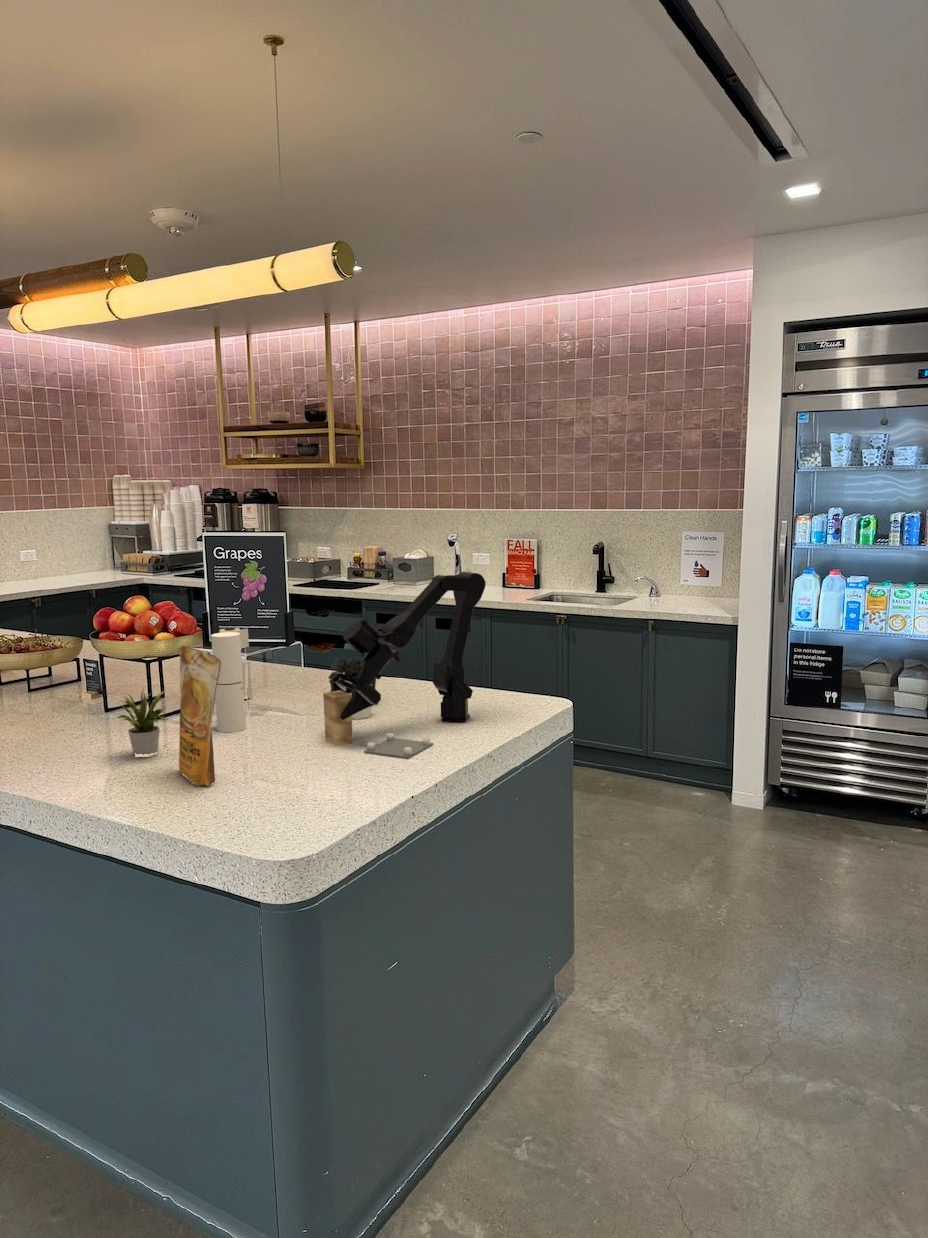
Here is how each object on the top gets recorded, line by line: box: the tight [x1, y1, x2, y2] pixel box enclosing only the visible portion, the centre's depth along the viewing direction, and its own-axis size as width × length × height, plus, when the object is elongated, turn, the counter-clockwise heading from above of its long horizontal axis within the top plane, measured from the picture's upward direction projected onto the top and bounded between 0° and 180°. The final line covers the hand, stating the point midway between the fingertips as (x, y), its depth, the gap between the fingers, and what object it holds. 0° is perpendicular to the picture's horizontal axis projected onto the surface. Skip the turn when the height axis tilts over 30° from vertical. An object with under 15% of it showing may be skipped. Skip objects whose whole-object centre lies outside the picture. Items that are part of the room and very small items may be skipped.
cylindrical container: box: [210, 632, 247, 734], centre depth 233 cm, size 7×7×25 cm
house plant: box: [112, 687, 167, 755], centre depth 212 cm, size 14×14×16 cm
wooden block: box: [322, 690, 354, 747], centre depth 221 cm, size 4×6×12 cm
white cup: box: [350, 684, 372, 720], centre depth 245 cm, size 8×8×10 cm
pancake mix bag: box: [178, 645, 221, 788], centre depth 195 cm, size 7×19×28 cm, turn 35°
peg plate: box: [363, 732, 435, 760], centre depth 214 cm, size 12×12×2 cm
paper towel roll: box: [218, 627, 253, 700], centre depth 264 cm, size 7×6×21 cm
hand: (333, 714), depth 220 cm, fingers open, 9 cm apart
